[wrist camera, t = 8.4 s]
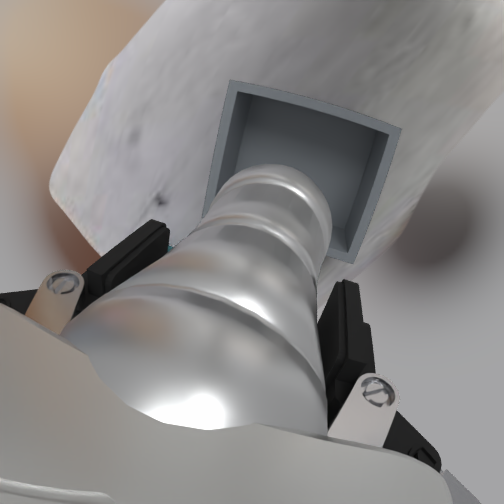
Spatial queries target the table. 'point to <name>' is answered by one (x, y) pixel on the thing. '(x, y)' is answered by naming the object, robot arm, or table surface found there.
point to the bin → (307, 153)
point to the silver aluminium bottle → (223, 314)
